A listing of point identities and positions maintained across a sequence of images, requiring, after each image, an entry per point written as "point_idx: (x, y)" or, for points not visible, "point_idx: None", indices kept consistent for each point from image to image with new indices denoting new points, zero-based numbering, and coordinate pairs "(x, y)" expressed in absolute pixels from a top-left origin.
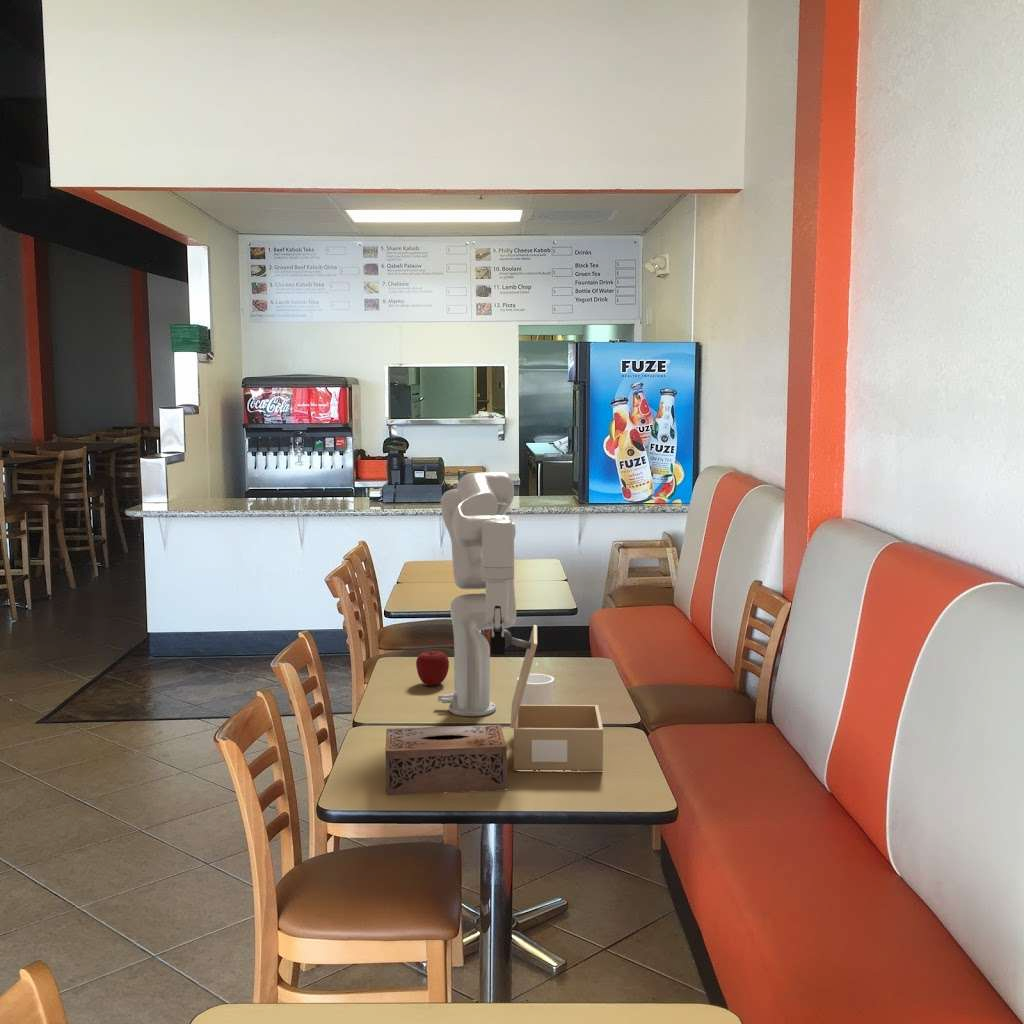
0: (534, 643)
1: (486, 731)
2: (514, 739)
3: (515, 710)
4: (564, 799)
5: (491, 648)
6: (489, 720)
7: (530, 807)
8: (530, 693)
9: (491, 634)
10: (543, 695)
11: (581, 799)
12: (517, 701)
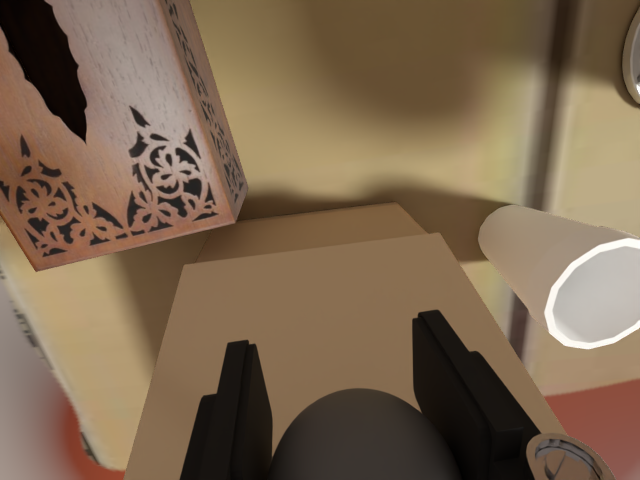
0: None
1: (156, 189)
2: (198, 258)
3: (171, 310)
4: (94, 335)
5: (223, 376)
6: (584, 107)
7: (26, 283)
8: (531, 273)
9: (480, 406)
10: (525, 303)
11: (106, 360)
12: (171, 334)
